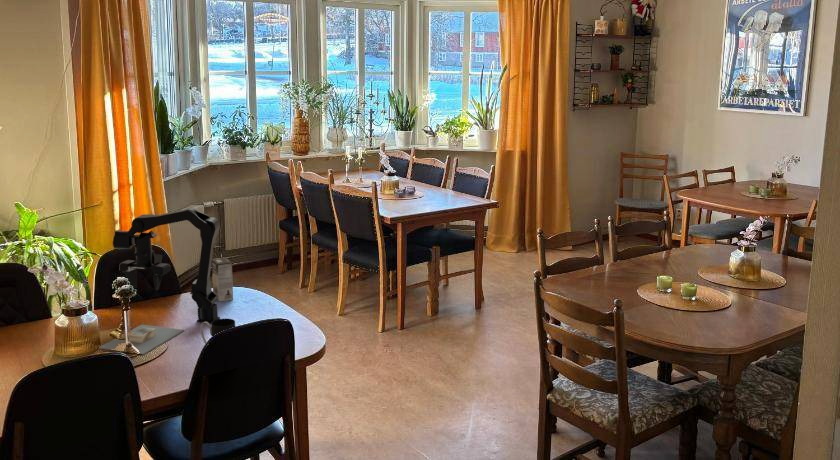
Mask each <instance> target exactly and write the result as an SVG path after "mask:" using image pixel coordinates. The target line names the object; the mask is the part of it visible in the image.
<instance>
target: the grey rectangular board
mask: <svg viewBox="0 0 840 460" xmlns="http://www.w3.org/2000/svg"><path fill="white" fill-rule="evenodd" d="M142 327H146V328H154V329H155V334H156V335H155V336H153V337H152V338H150V339H148V340H147V341H145V342H143V343H137V342H131V343H132V344H133V345H134V346H135V347H136V348H137V349H138V350H139V352H140V354H142V355H141V356H145V355H146V354H149V351H150V352H152V351H153V350H155V349H156V347H157V348H158V347H161V346H162V345H163V344H165V343H166V342H168V341H170V340H172V339H173V338H176V337H177V336H178V335H181V334H182V333H184V332H185V329H179V328H171V327H165V326H156V325H150V324H149V325H147V324H140V325H138V326H136V327H135V328H133V329H131V330H130V331H131V332H135V331H137V330H139V329H141V328H142ZM116 338H117V337H115V338H114V339H112V340H110V341H107V342H106V343H104V344H102V345H100V346H98V347H99V348H100V349H99V350H102V349H105V351H110V350H111V349H115V348H116V346H118V343H119V344H121V343H125V340H118V339H116ZM154 348H155V349H154ZM151 350H152V351H151ZM144 354H145V355H144Z"/></svg>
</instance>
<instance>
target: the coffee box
mask: <svg viewBox="0 0 840 460" xmlns="http://www.w3.org/2000/svg"><path fill="white" fill-rule="evenodd" d="M211 278H212V280H211V282H212V291H213V292H214V293H215V294H216V295H217V296H218V298H217V301H218V302H226V301H232V300H234V285H233V283H234V282H233V263H232V261H231V260H230V259H229V258H227V257H226V256H224V257H217V258H212V262H211Z"/></svg>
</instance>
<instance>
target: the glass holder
mask: <svg viewBox="0 0 840 460" xmlns="http://www.w3.org/2000/svg"><path fill="white" fill-rule="evenodd" d="M204 324H206V325H207V326H208V329H209V334H210V336H211V337H212V336H214V335H215V334H217V333H219V332H221V331H223V330H226V329H229V328H232V327H235V328H236V321H235V319H232V318H220V319H217V320H214V321H212V322H211V323H208V322H201V324H200V329H199V330H200V334H201V338H202V340H203V342H204V345H206V343H208V342H207V340H206V337H205V334H204V329H203V325H204Z"/></svg>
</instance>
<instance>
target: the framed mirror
mask: <svg viewBox="0 0 840 460" xmlns="http://www.w3.org/2000/svg"><path fill="white" fill-rule="evenodd" d="M155 335H156V334H155V329H154V328H146V327H142V328H141V329H139V330H137V331H135V332H133V333H131V334H130V335H129V340H130V342H137V343H143V342H145V341H147V340H148V339H150V338H152V337H153V336H155Z"/></svg>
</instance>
